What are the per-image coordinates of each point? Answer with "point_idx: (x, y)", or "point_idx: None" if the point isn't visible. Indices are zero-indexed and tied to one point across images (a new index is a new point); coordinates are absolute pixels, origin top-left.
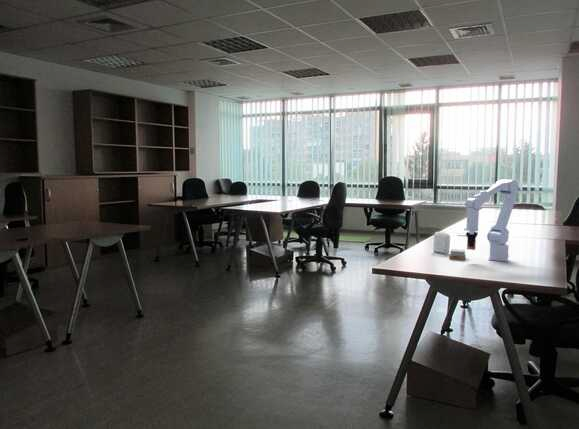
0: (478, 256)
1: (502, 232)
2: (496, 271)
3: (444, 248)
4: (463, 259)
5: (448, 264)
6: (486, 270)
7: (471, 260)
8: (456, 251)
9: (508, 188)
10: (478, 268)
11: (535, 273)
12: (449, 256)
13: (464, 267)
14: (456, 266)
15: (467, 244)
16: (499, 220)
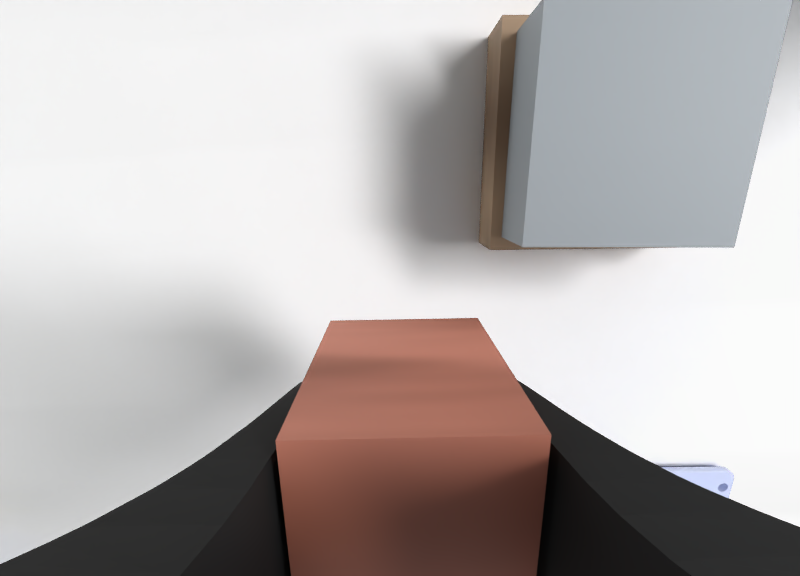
0: (796, 370)
1: None
2: (29, 531)
3: None
4: (481, 228)
5: (76, 63)
6: (13, 462)
7: (502, 313)
8: (532, 115)
9: None
10: (63, 396)
11: None
12: (498, 23)
13: (16, 265)
14: (11, 175)
15: (312, 369)
16: None
